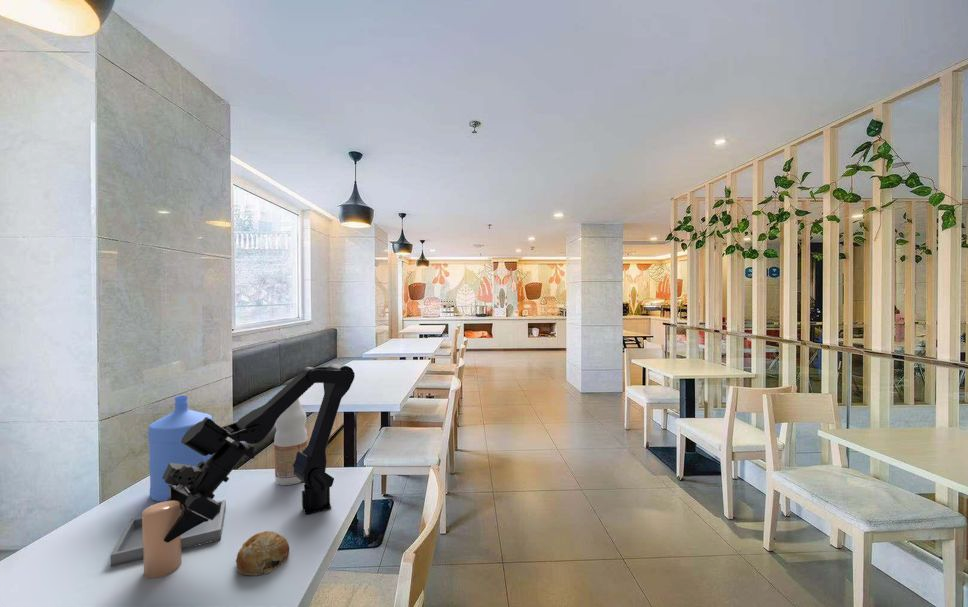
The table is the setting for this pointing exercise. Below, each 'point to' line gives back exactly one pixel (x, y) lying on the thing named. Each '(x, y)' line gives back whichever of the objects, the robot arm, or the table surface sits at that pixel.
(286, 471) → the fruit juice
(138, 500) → the table surface
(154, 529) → the peach rounded cylinder
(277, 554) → the bread roll
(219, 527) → the grey tray
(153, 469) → the water jug
